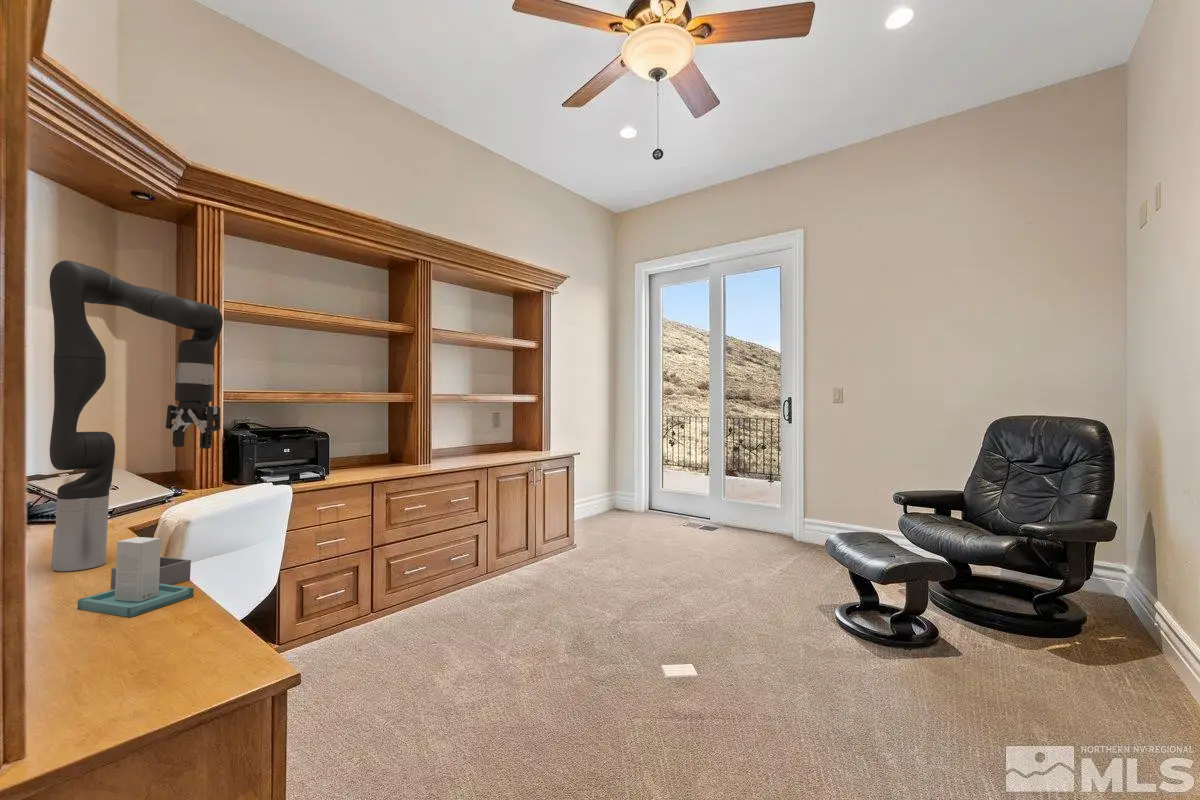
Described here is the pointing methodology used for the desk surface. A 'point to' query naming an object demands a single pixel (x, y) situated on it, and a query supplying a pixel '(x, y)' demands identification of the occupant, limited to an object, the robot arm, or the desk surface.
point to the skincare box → (137, 569)
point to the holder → (167, 571)
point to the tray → (130, 609)
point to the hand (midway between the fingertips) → (191, 447)
